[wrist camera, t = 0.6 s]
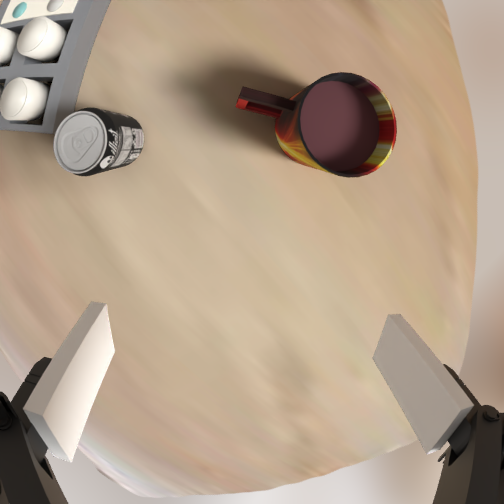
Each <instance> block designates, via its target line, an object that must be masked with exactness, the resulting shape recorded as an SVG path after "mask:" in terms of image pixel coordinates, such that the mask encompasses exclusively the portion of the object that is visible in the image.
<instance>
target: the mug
mask: <svg viewBox="0 0 504 504" xmlns="http://www.w3.org/2000/svg"><path fill="white" fill-rule="evenodd" d="M236 108H240V109H243V110H247V111H251V112H255V113H259V114H263V115H267V116H270V117H274V118H276V123H275V132H276V137H277V141H278V143H279V145H280V147H281V149H282V150H283V151H284V152H285V154H286V155H287V156H289V157H290V158H291V159H292V160H294V161H296V162H297V163H300V164H302V165H305V166H309V167H312V168H315V169H319V170H322V171H325V172H328V173H332V174H335V175H338V176H343V177H360V176H364V175H368V174H370V173H372V172H374V171H376V170H377V169H378V168H379V167H381V166H382V165H383V164H384V163H385V161H386V160H387V159H388V158H389V156H390V154H391V152H392V150H393V147H394V144H395V141H396V133H397V127H396V119H395V114H394V111H393V108H392V106H391V104H390V102H389V100H388V99H387V97H386V96H385V94H384V93H383V92H382V91H381V90H380V89H379V87H378V86H376V85H375V84H374V83H372V82H371V81H370V80H368V79H366V78H364V77H362V76H360V75H356V74H353V73H344V72H340V73H332V74H329V75H326V76H324V77H321V78H320V79H318V80H317V81H315V82H314V83H312V84H311V85H309V86H308V87H306V88H305V89H303V90H302V91H300V92H299V93H297V94H296V95H294V96H293V97H291V98H290V99H286V98H283V97H279V96H276V95H272V94H269V93H265V92H261V91H257V90H253V89H250V88H247V87H242V90H241V93H240V95H239V97H238V100H237V103H236Z"/></svg>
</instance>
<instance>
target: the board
mask: <svg viewBox="0 0 504 504" xmlns="http://www.w3.org/2000/svg"><path fill="white" fill-rule="evenodd" d="M110 2H111V0H3V2H2V4H1V6H0V27H3V28H6V29H8V30H11V31H13V32H16V33H18V34H19V35H20V33H21V31H22V30H23V28H24V27H25V26H26V25H27V24H28V23H29V22H30V21H31V20H33V19H34V18H36V17H40V16H45V17H47V18H49V19H50V20H52V21H54V22H55V23H57V24H59V25H60V26H62V27H64V28H65V29H66V30H69V32H68V35H67V37H66V40H65V43H64V46H63V49H62V52H61V55H60V58H59V61H58V63H45V64H42V63H43V62H42V61H40V60H37V59H34V58H31V57H28V56H25V55H22V54H20V53H19V52H18V49H17V45H16V48H15V51H14V54H13V57H12V60H11V63H10V66H5V67H3V66H1V65H0V83H5V85H4V89H5V87H6V86H7V84H8V83H9V82H10V81H12V80H13V79H15V78H18V77H22V78H26V79H31V80H35V81H39V82H52V85H51V88H50V92H49V96H48V101H47V105H46V109H45V114H44V119H43V124H28V121H27V120H6V119H5V118H4V117H3V116H2V114H1V112H0V130H13V131H26V132H38V133H48V134H55V133H56V131H57V129H58V127H59V125H60V124H61V122H62V121H63V120H64V119H65V118H66V117H67V116H69V115H70V114H72V113H74V109H75V105H76V101H77V97H78V93H79V89H80V85H81V82H82V78H83V75H84V71H85V68H86V65H87V62H88V59H89V56H90V53H91V50H92V47H93V44H94V41H95V38H96V36H97V33H98V30H99V28H100V25H101V23H102V20H103V18H104V15H105V13H106V11H107V8H108V6H109V4H110ZM4 89H3V91H4Z"/></svg>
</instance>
